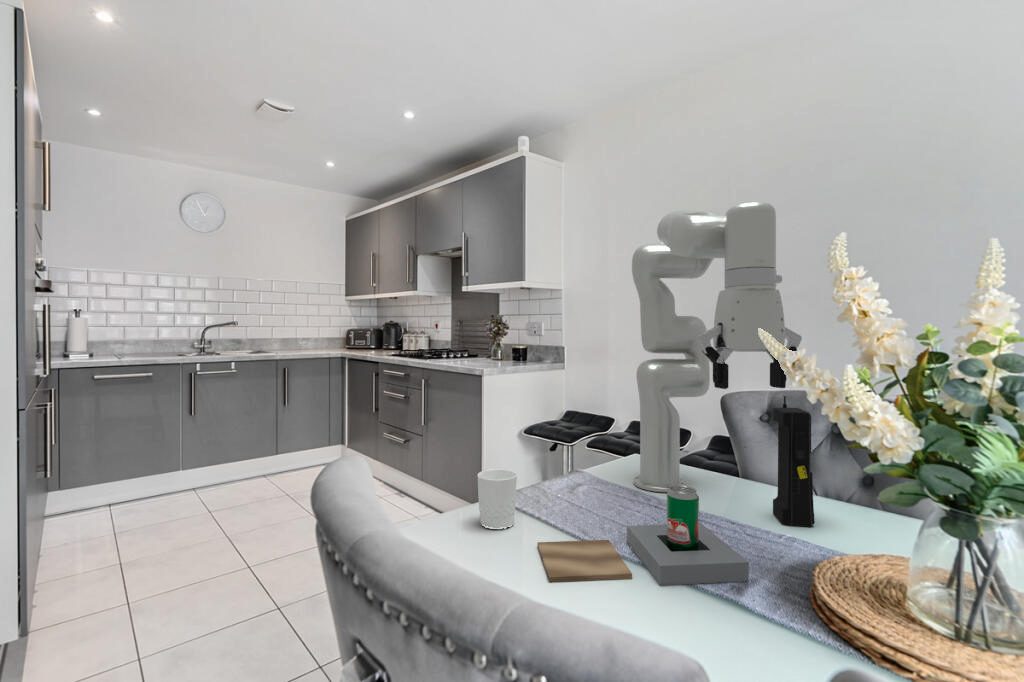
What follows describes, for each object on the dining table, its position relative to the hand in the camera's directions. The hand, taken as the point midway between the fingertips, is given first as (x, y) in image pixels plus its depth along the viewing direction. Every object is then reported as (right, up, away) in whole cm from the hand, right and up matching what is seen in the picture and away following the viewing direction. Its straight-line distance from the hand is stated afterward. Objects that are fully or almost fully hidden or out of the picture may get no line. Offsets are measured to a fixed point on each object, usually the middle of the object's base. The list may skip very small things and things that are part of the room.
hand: (749, 387), depth 82 cm
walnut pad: (-27, -29, +3) cm, 40 cm away
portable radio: (+19, -29, +21) cm, 40 cm away
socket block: (-10, -29, +3) cm, 31 cm away
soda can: (-10, -30, +3) cm, 31 cm away
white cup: (-41, -29, +19) cm, 54 cm away
